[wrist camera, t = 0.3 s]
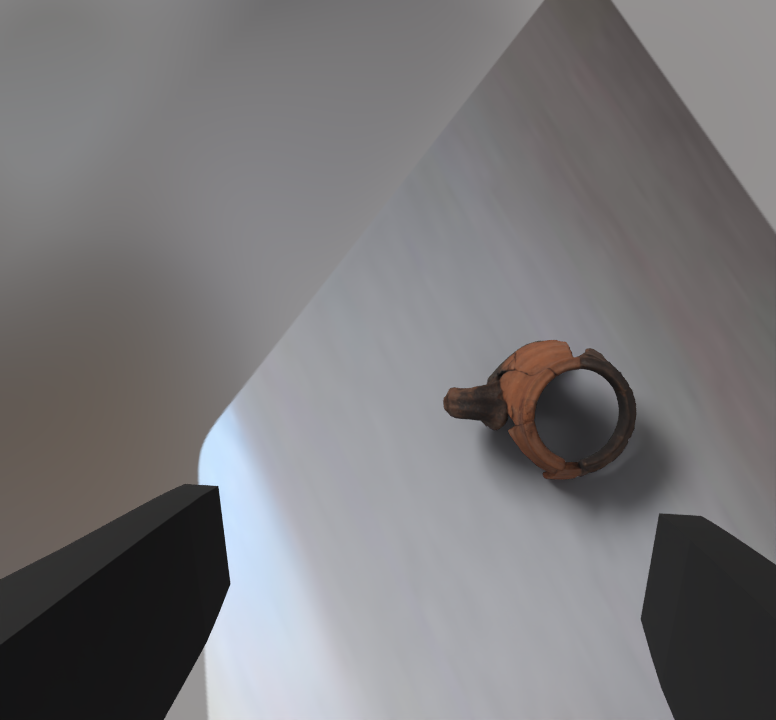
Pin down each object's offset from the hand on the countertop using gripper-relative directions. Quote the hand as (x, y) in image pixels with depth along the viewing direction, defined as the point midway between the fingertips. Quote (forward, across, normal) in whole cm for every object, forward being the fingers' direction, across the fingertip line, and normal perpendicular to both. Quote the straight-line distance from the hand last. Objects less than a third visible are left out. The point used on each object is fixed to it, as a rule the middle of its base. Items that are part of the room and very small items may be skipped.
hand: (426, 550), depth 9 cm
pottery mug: (+29, -6, +10) cm, 31 cm away
